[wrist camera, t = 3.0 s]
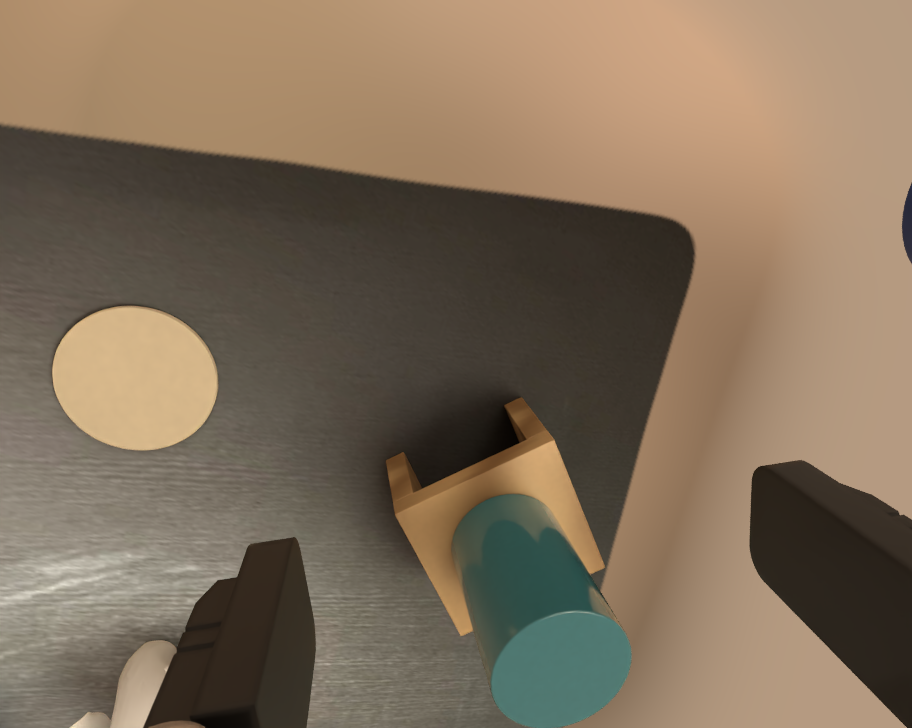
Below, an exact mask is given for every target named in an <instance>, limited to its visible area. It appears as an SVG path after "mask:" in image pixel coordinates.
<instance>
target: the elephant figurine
mask: <svg viewBox="0 0 912 728" xmlns="http://www.w3.org/2000/svg"><path fill="white" fill-rule="evenodd" d="M176 653H177V649H176V647H175V646H174V645H173V644H171V643H170V642H167V641H164V640H157V641H149V642H146V643H145V644H143V645H142V646H141V647H140V648H139V649H138V650H137V651H136V652H135V653H134V654H133V655H132V656H131V657H130V659H129V660H128V661H127V663H126V665H125V667H124V669H123V671H122V673H121V675H120V679H119V683H118V688H117V694H116V700H115V706H114V711H113V716H112V720H111V721H110V719H109V718H108V716H107V715H106V714H105V713H101V712H95V713H90V712H88V713H87V714H86V715H85V716H84V717H83V718H82V719H80V720H79V721H78V722H76V723H75V724H74V725H72V726H71V727H70V728H143V726H144V724H145V722H146V719H147V717H148V715H149V712H150V710H151V707H152V705H153V703H154V700H155V698H156V696H157V693H158V691H159V689H160V686H161V684H162V682H163V679H164V677H165V674H166V672H167V670H168V667H169V665H170V663H171V660H172V658H173V656H174V654H176Z"/></svg>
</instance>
